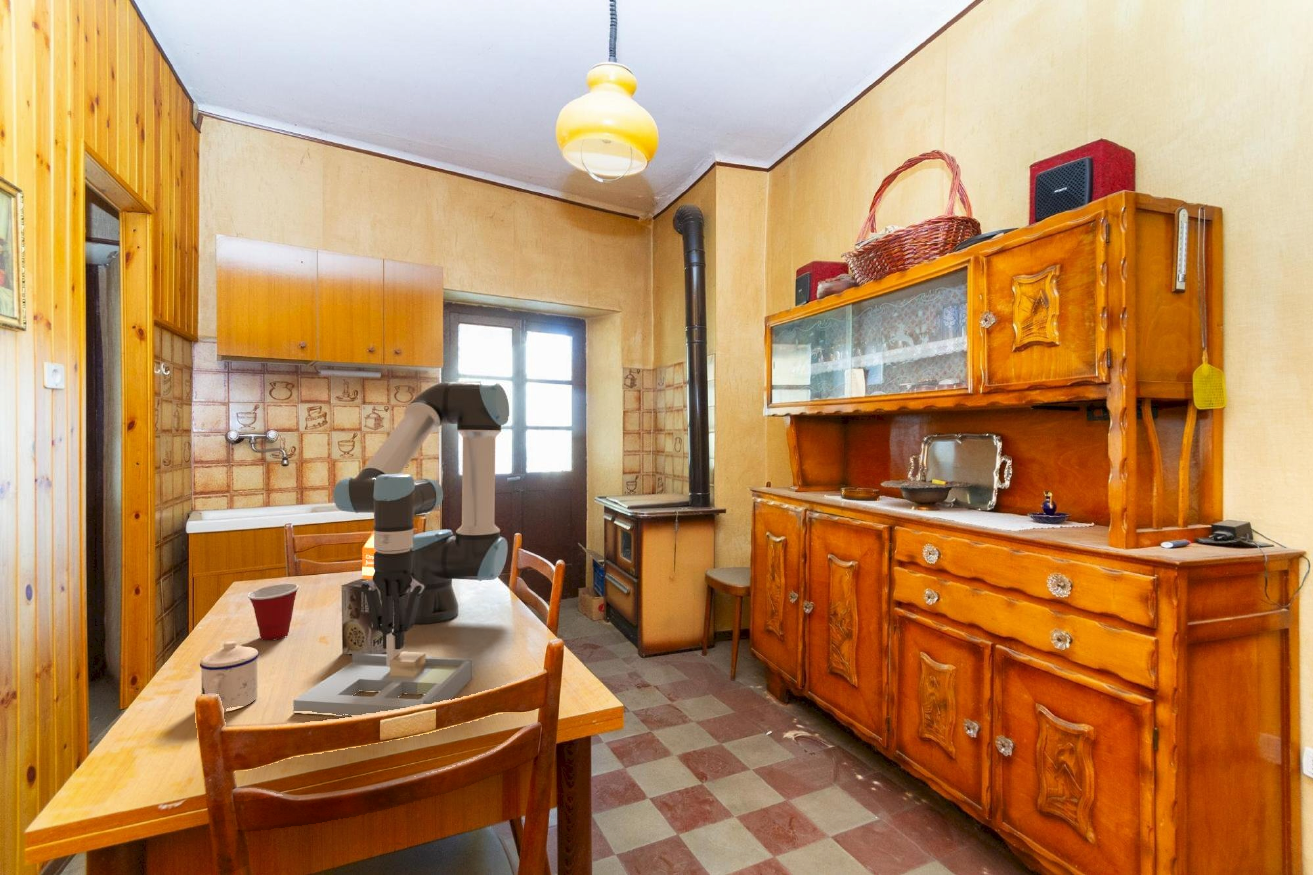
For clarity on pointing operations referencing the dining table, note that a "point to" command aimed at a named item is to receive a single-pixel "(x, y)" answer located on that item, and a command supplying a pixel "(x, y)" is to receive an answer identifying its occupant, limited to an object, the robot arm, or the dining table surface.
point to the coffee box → (358, 622)
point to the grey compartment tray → (384, 686)
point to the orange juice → (368, 558)
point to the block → (407, 664)
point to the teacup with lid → (231, 674)
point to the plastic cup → (273, 609)
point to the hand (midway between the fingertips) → (393, 663)
